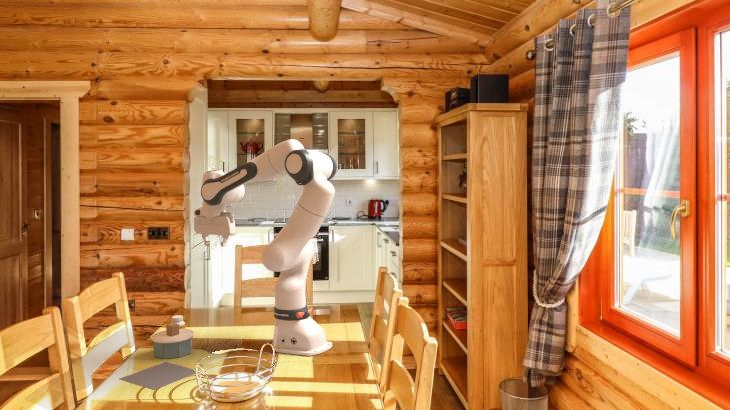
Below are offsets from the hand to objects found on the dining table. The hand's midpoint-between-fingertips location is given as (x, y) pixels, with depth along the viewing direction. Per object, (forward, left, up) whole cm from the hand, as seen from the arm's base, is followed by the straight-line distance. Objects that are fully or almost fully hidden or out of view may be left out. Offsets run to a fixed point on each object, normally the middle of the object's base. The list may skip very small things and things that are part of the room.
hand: (215, 245), depth 215 cm
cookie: (-19, +15, -35) cm, 42 cm away
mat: (-22, +44, -34) cm, 60 cm away
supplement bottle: (+2, +18, -34) cm, 39 cm away
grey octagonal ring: (-8, +28, -34) cm, 45 cm away
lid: (-8, +28, -28) cm, 40 cm away
